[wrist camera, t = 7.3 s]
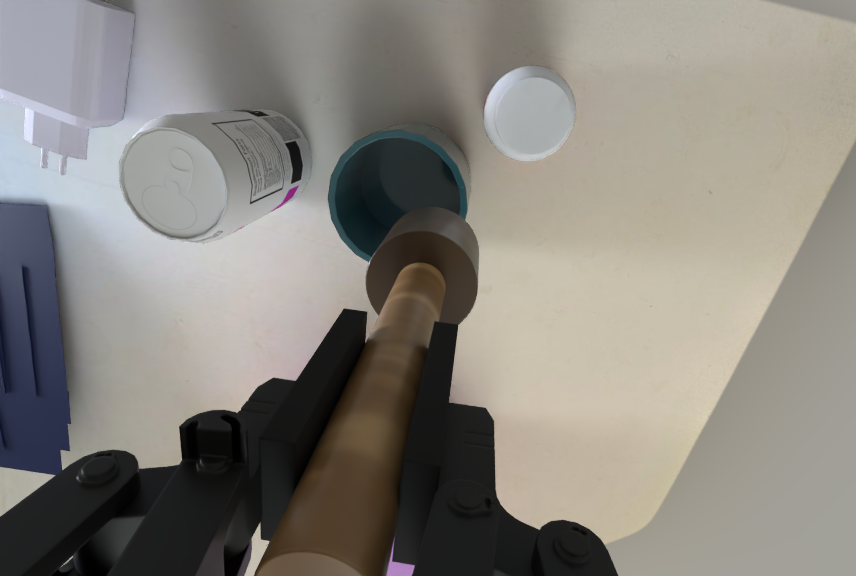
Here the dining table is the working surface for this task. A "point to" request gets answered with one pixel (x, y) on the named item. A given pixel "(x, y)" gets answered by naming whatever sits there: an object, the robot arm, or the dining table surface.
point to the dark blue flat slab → (30, 345)
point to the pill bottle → (529, 113)
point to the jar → (395, 182)
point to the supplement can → (212, 171)
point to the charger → (65, 69)
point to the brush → (377, 404)
